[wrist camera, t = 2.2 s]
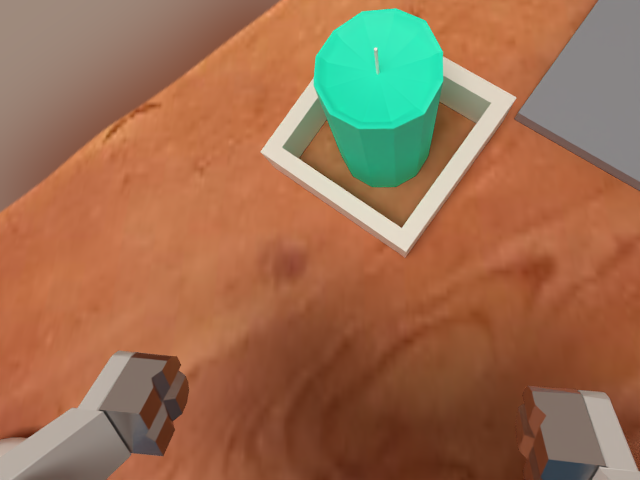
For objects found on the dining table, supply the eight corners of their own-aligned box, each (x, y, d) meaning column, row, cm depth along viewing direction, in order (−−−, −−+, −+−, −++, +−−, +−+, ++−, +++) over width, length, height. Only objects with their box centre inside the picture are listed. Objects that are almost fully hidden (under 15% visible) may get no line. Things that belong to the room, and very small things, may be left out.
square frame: (365, 42, 32) (361, 11, 28) (502, 121, 29) (516, 97, 26) (275, 168, 32) (260, 152, 28) (405, 257, 29) (405, 251, 26)
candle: (352, 198, 30) (322, 134, 19) (332, 117, 31) (292, 9, 20) (440, 175, 30) (467, 93, 18) (417, 93, 31) (428, -36, 19)
